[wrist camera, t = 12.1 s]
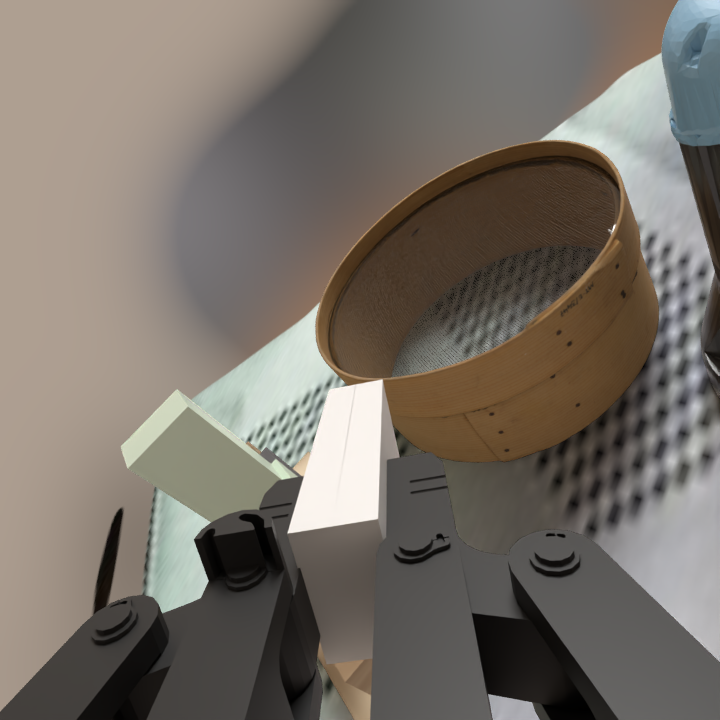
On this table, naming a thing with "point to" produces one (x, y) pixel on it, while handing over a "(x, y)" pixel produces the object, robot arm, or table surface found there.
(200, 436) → the pale green upright panel
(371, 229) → the steamer basket
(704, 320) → the robot arm
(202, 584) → the table surface
